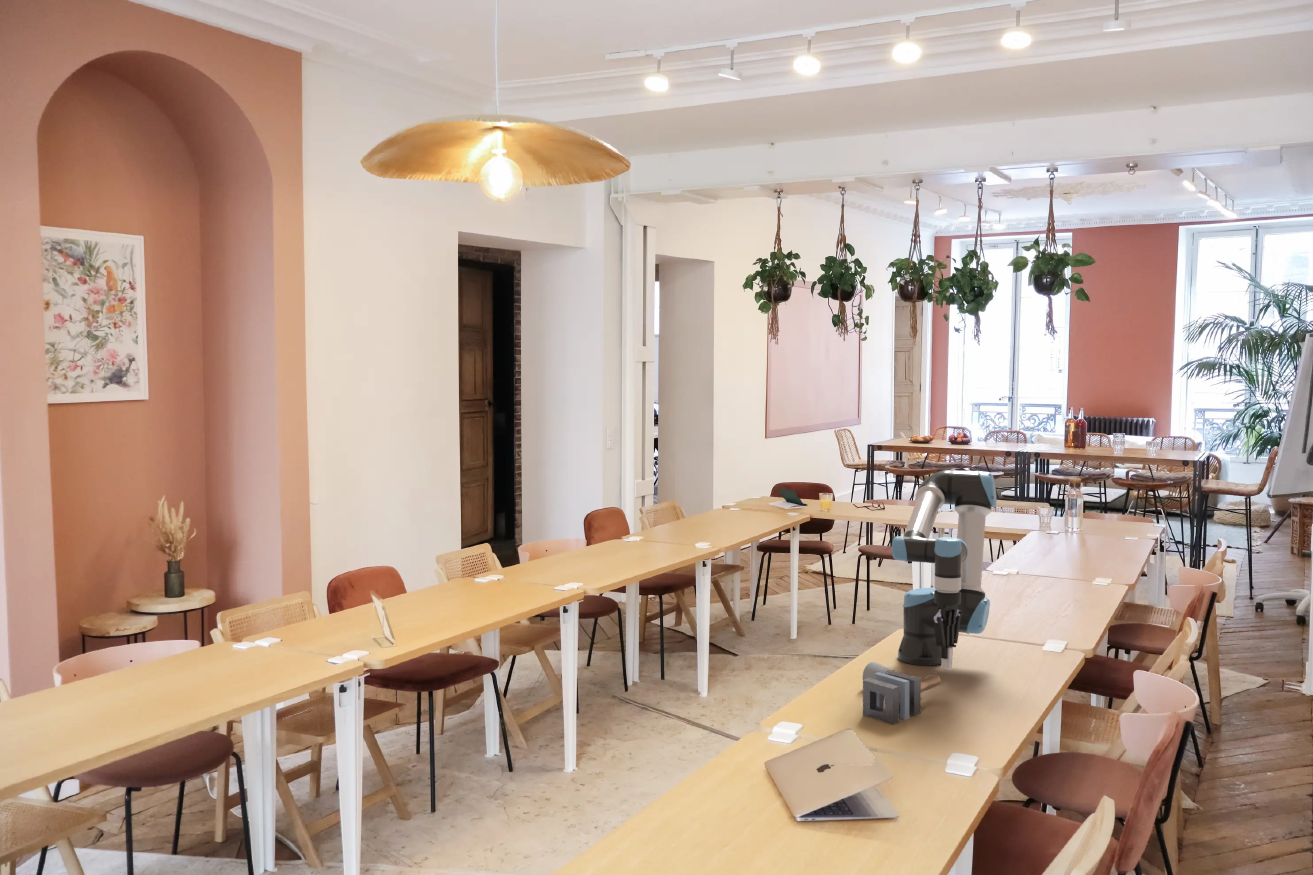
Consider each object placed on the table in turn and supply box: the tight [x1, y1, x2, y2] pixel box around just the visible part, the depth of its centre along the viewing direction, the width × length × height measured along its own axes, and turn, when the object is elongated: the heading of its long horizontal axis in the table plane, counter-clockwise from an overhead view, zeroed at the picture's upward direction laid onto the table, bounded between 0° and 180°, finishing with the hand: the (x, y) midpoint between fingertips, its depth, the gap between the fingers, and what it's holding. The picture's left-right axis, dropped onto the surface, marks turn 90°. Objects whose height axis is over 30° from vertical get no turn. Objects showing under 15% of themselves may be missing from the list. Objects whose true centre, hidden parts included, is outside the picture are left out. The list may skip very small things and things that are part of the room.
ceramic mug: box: [862, 661, 894, 681], centre depth 295 cm, size 11×8×8 cm
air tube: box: [899, 673, 942, 701], centre depth 281 cm, size 20×4×4 cm, turn 130°
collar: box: [862, 678, 900, 725], centre depth 271 cm, size 3×10×10 cm, turn 40°
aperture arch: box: [875, 672, 910, 721], centre depth 274 cm, size 2×10×11 cm, turn 40°
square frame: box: [885, 669, 922, 717], centre depth 277 cm, size 3×10×10 cm, turn 40°
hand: (946, 668), depth 291 cm, fingers closed
